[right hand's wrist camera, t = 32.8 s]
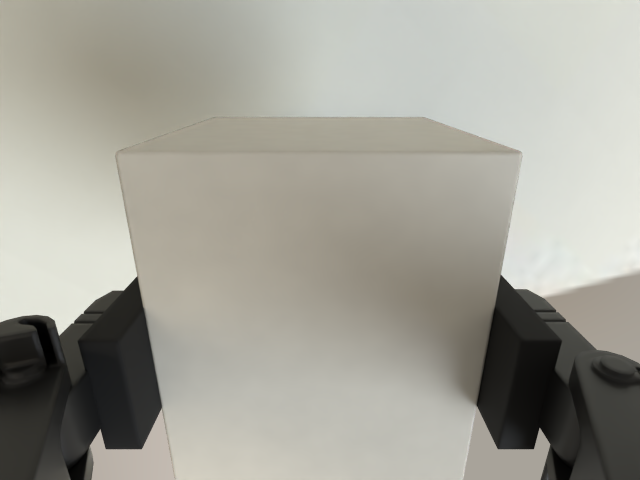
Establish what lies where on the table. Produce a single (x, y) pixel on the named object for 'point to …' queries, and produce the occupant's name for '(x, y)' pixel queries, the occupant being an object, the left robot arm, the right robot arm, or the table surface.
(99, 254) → the table surface
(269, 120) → the block
